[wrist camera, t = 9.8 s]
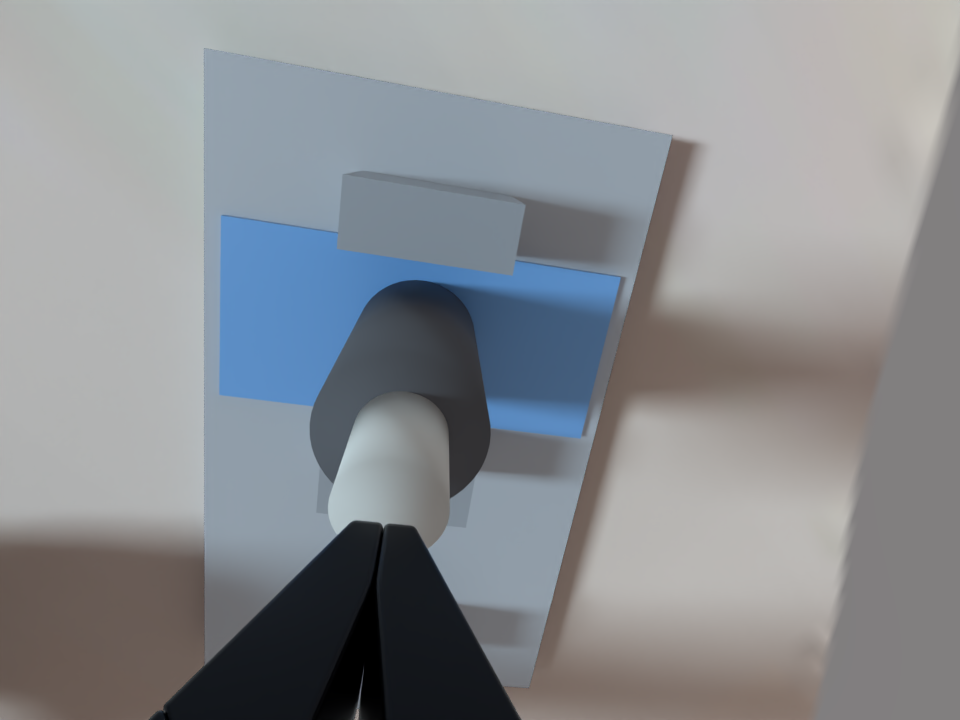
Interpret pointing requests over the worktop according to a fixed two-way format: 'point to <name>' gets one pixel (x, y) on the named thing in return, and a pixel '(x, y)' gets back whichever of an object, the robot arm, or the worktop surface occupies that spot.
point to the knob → (403, 411)
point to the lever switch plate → (394, 258)
